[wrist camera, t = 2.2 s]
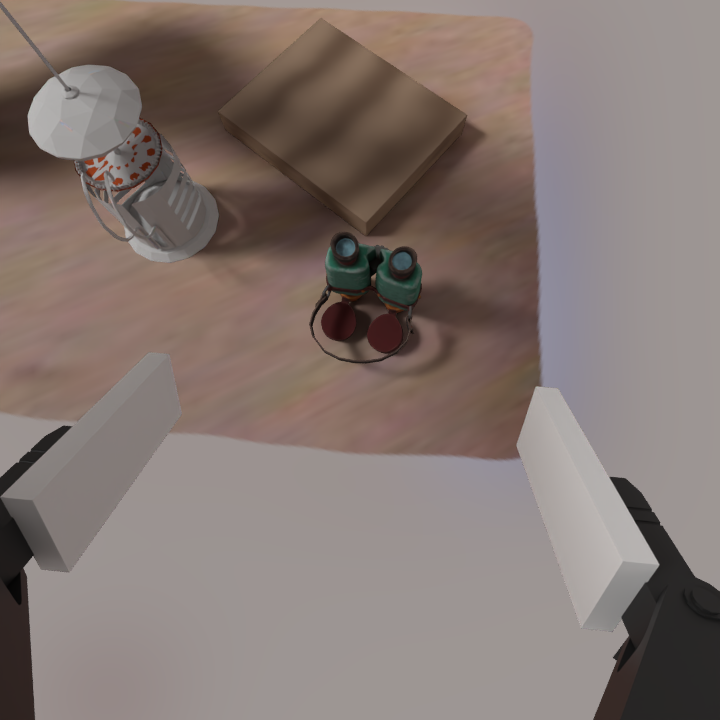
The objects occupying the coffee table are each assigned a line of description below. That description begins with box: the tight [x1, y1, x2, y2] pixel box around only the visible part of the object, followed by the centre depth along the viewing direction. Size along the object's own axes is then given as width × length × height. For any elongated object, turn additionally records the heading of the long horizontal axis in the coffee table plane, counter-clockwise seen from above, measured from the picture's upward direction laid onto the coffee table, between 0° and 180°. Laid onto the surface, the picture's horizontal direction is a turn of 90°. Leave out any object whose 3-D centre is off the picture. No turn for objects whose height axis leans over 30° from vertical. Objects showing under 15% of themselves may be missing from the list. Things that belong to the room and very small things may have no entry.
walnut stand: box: [218, 18, 467, 236], centre depth 44 cm, size 20×16×2 cm
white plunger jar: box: [0, 2, 219, 263], centre depth 31 cm, size 10×12×25 cm
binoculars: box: [309, 232, 422, 363], centre depth 35 cm, size 9×10×10 cm
